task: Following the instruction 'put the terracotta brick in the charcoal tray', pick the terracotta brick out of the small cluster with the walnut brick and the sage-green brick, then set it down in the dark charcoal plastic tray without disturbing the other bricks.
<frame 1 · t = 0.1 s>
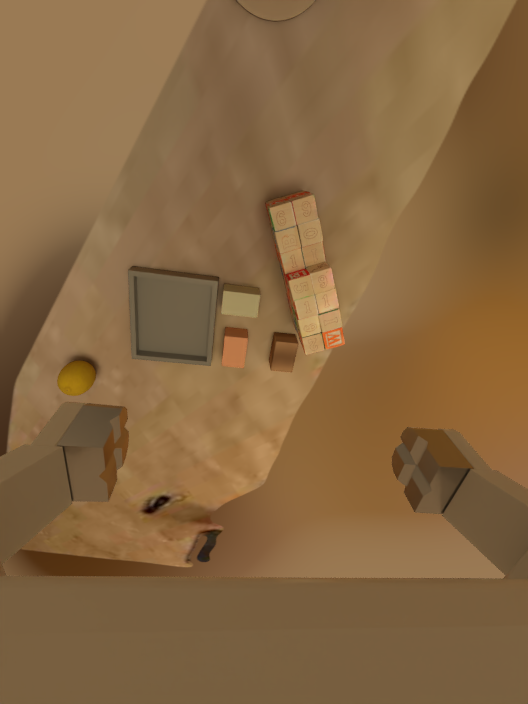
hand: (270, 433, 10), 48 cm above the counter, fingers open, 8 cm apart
lemon: (86, 365, 62), on the counter
charcoal tray: (175, 316, 58), on the counter
terracotta brick: (234, 342, 62), on the counter
walnut brick: (281, 347, 63), on the counter
stack of blocks: (297, 263, 56), on the counter
sage brick: (240, 296, 58), on the counter
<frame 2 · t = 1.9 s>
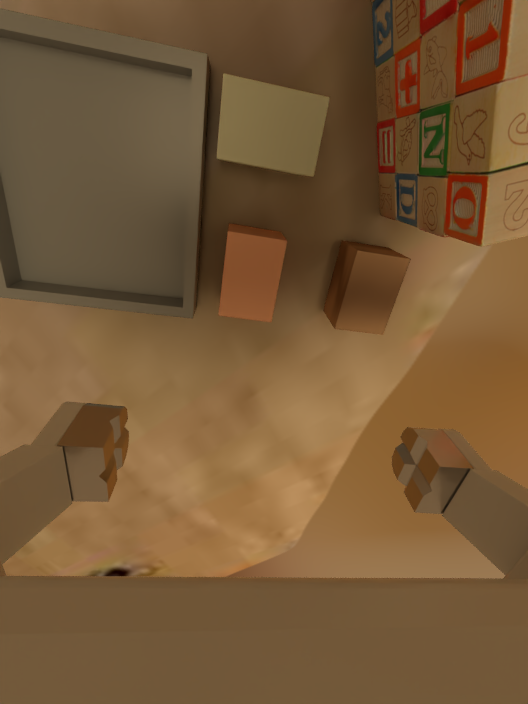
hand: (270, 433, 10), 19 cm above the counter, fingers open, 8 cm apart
charcoal tray: (102, 189, 23), on the counter
terracotta brick: (249, 265, 27), on the counter
walnut brick: (354, 279, 28), on the counter
stack of blocks: (418, 26, 21), on the counter
sage brick: (266, 135, 23), on the counter
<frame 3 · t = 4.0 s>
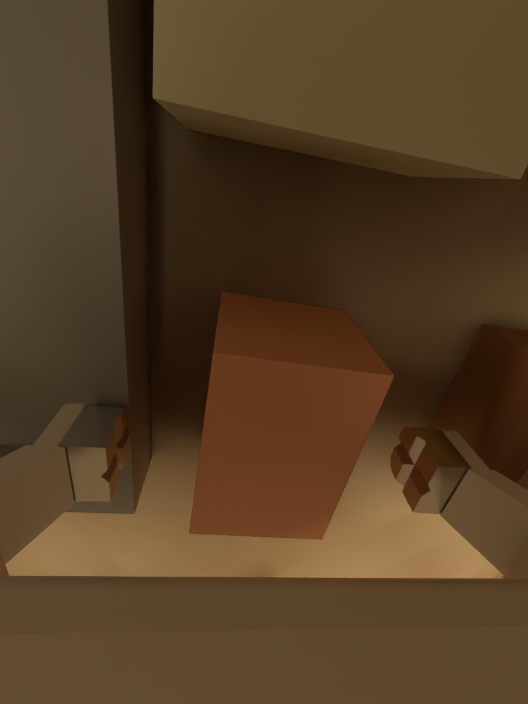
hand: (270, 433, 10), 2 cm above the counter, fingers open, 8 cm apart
terracotta brick: (266, 378, 12), on the counter
walnut brick: (489, 397, 13), on the counter
sage brick: (324, 56, 8), on the counter
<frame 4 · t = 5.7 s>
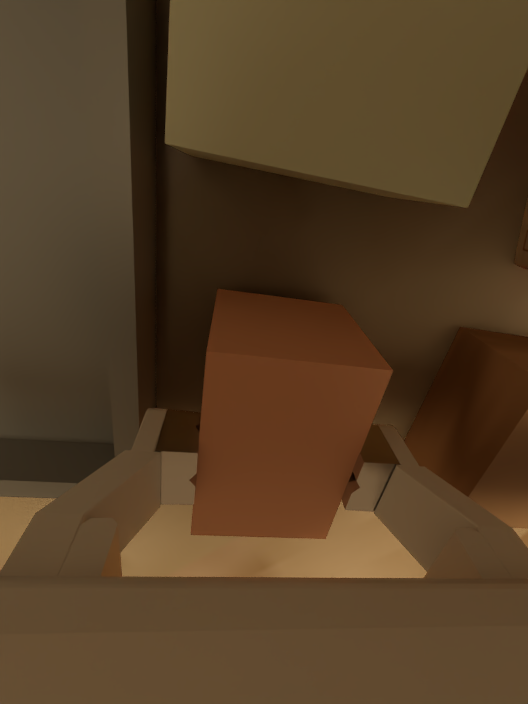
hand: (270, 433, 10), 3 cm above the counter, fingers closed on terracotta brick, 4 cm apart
terracotta brick: (266, 376, 12), point 1 cm above the counter, touching gripper
walnut brick: (468, 395, 14), on the counter
sage brick: (310, 95, 9), on the counter
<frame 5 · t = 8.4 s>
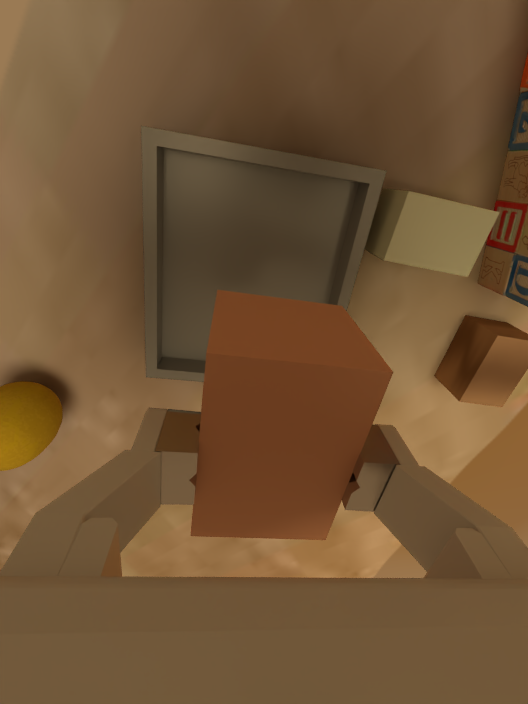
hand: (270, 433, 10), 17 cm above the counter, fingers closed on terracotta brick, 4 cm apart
lemon: (45, 389, 28), on the counter
charcoal tray: (250, 276, 24), on the counter
terracotta brick: (266, 377, 12), point 14 cm above the counter, touching gripper
walnut brick: (468, 349, 29), on the counter
sage brick: (410, 227, 24), on the counter
when the fingers open (4 cm above the counter, at t = 11.1 s): terracotta brick stays where it is, resting on charcoal tray.
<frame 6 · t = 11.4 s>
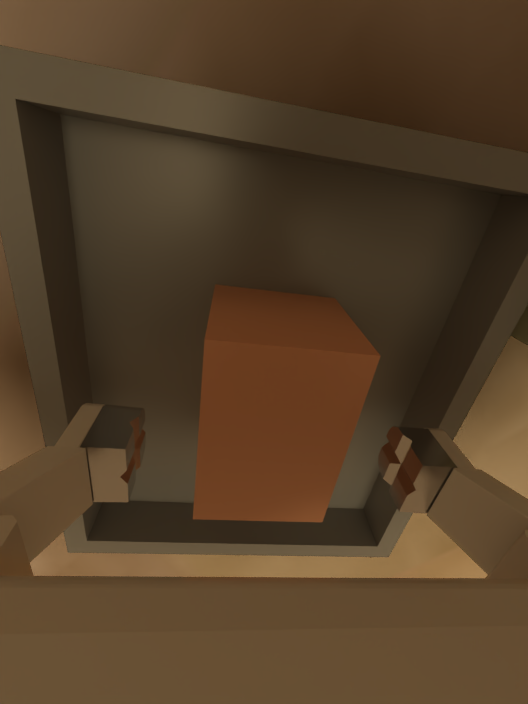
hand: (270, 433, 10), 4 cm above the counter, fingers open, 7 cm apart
charcoal tray: (261, 369, 13), on the counter
terracotta brick: (263, 369, 12), point 1 cm above the counter, touching charcoal tray
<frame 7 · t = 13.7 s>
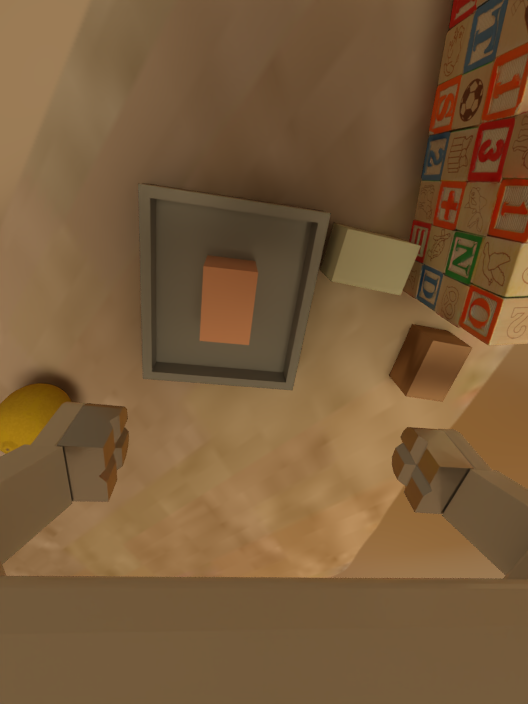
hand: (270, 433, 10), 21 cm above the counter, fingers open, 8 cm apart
lemon: (57, 391, 33), on the counter
charcoal tray: (228, 294, 30), on the counter
terracotta brick: (228, 292, 29), point 1 cm above the counter, touching charcoal tray
walnut brick: (417, 353, 34), on the counter
stack of blocks: (458, 158, 26), on the counter
sage brick: (358, 253, 29), on the counter
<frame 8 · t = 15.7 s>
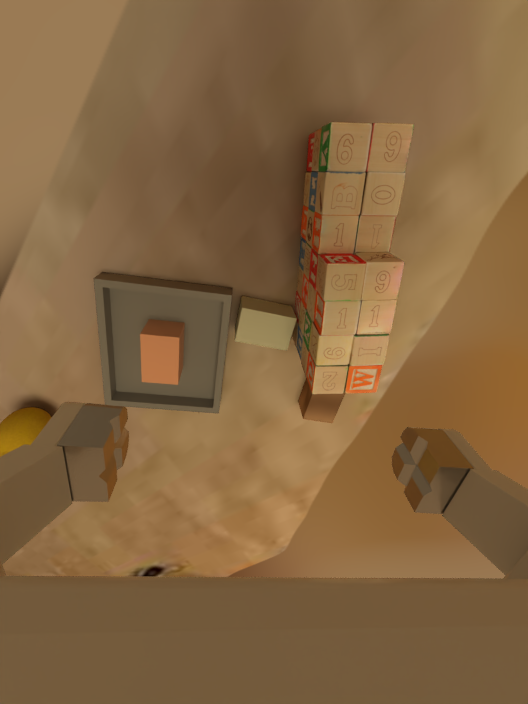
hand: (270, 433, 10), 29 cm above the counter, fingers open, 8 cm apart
lemon: (43, 411, 44), on the counter
charcoal tray: (167, 344, 40), on the counter
terracotta brick: (166, 343, 39), point 1 cm above the counter, touching charcoal tray
walnut brick: (318, 384, 45), on the counter
stack of blocks: (325, 249, 36), on the counter
sage brick: (262, 316, 39), on the counter
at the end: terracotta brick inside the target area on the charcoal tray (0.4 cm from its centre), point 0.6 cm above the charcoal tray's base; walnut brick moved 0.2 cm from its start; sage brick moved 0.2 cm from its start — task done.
